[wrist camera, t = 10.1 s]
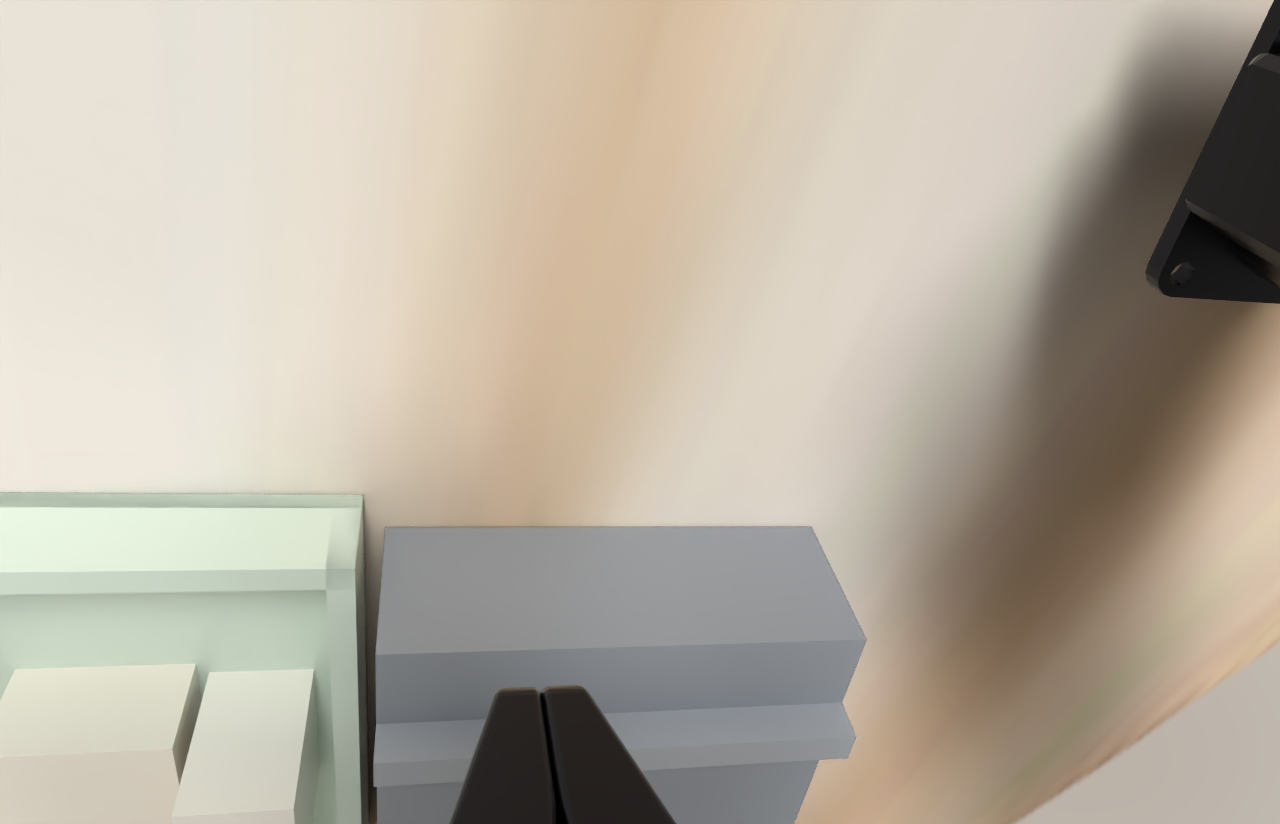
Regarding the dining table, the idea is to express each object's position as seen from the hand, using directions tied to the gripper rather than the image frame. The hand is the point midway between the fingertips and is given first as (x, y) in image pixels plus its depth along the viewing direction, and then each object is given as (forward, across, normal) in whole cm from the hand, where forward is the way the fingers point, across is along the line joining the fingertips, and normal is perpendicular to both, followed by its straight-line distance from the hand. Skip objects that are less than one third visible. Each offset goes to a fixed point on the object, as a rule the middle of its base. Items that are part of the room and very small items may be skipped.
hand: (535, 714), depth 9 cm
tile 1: (+9, +8, +14) cm, 19 cm away
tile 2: (+10, +4, +14) cm, 18 cm away
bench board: (+12, -4, +14) cm, 19 cm away
